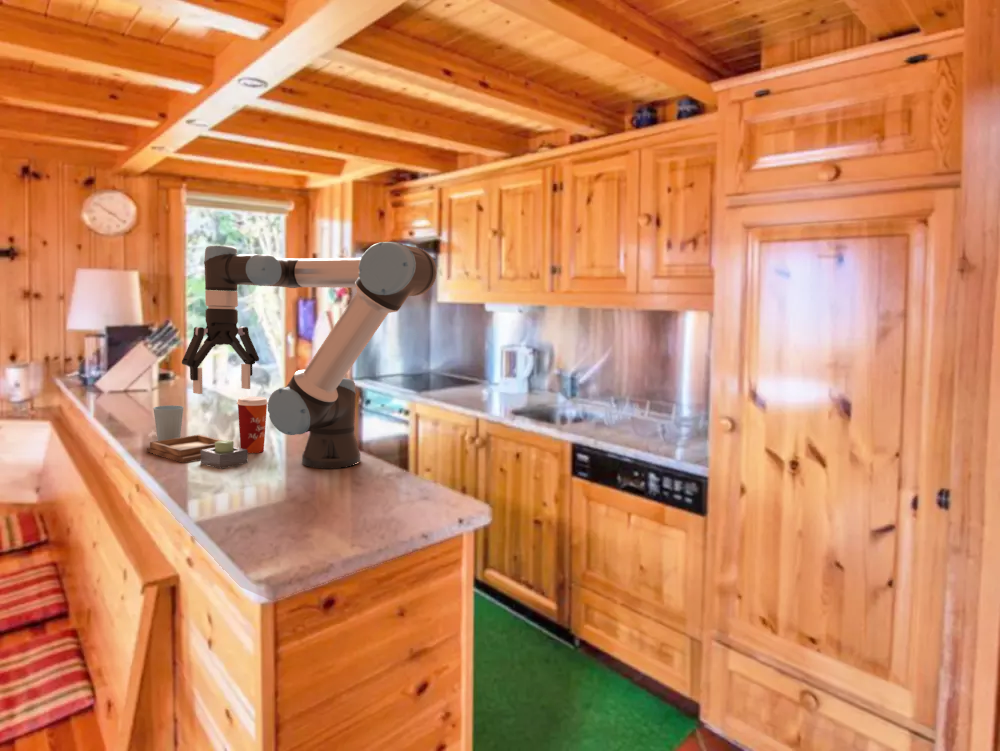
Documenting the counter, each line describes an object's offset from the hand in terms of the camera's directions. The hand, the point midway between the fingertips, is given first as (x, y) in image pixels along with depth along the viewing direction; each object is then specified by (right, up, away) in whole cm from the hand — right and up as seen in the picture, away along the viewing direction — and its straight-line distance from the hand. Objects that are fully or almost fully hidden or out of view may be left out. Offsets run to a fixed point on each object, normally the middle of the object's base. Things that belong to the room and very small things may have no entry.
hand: (222, 391), depth 163 cm
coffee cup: (+2, -17, +15) cm, 23 cm away
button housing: (0, -19, +1) cm, 19 cm away
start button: (0, -17, +1) cm, 17 cm away
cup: (-24, -16, +20) cm, 35 cm away
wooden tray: (-13, -17, +10) cm, 24 cm away
